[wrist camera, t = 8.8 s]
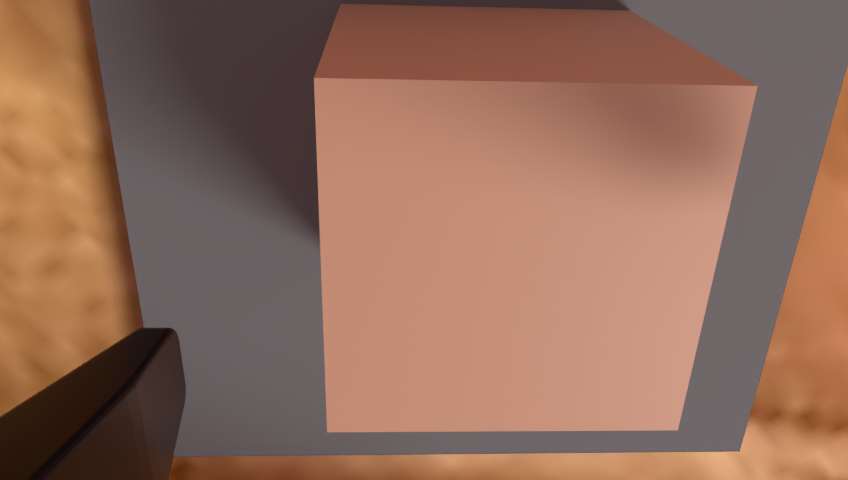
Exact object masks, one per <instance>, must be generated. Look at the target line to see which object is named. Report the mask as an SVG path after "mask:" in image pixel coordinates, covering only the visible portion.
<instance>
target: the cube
mask: <svg viewBox="0 0 848 480" xmlns="http://www.w3.org/2000/svg"><path fill="white" fill-rule="evenodd" d="M757 87H758V86H757V85H755V84H753V83H752V82H750V81H748V80H747V79H745V78H743V77H742V76H740V75H738V74H737V73H735V72H733V71H731V70H730V69H728V68H726V67H725V66H723V65H721V64H720V63H718V62H716V61H715V60H713V59H711V58H709V57H708V56H706V55H704V54H703V53H701V52H699V51H698V50H696V49H694V48H693V47H691V46H689V45H688V44H686V43H684V42H682V41H681V40H679V39H677V38H676V37H674V36H672V35H671V34H669V33H667V32H666V31H664V30H662V29H661V28H659V27H657V26H655V25H654V24H652V23H650V22H649V21H647V20H645V19H644V18H642V17H640V16H639V15H637V14H635V13H633V12H632V11H629V10H585V9H542V8H498V7H455V6H411V5H368V4H340V7H339V10H338V12H337V15H336V18H335V21H334V23H333V26H332V29H331V32H330V35H329V37H328V40H327V43H326V46H325V48H324V51H323V54H322V57H321V60H320V62H319V65H318V68H317V71H316V73H315V76H314V95H315V122H316V149H317V175H318V202H319V229H320V255H321V282H322V309H323V336H324V362H325V389H326V416H327V432H479V431H657V430H678V428H679V423H680V419H681V415H682V410H683V406H684V402H685V398H686V393H687V389H688V385H689V380H690V376H691V372H692V367H693V363H694V359H695V354H696V350H697V346H698V341H699V337H700V333H701V328H702V324H703V320H704V315H705V311H706V307H707V303H708V298H709V294H710V290H711V285H712V281H713V277H714V272H715V268H716V264H717V259H718V255H719V251H720V246H721V242H722V238H723V233H724V229H725V225H726V220H727V216H728V212H729V208H730V203H731V199H732V195H733V190H734V186H735V182H736V177H737V173H738V169H739V164H740V160H741V156H742V151H743V147H744V143H745V138H746V134H747V130H748V125H749V121H750V117H751V113H752V108H753V104H754V100H755V95H756V91H757Z"/></svg>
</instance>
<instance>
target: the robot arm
mask: <svg viewBox="0 0 848 480" xmlns="http://www.w3.org/2000/svg"><path fill="white" fill-rule="evenodd" d="M185 398H186V383H185V376H184V369H183V362H182V356H181V349H180V342H179V337H178V334H177V332H176V331H175V330H174V329H173V328H139V329H138V330H136V331H134V332H133V333H131V334H129V335H128V336H126V337H125V338H123V339H122V340H120V341H118V342H117V343H115V344H114V345H112V346H111V347H109V348H107V349H106V350H104V351H103V352H101V353H100V354H98V355H96V356H95V357H93V358H92V359H90V360H89V361H87V362H85V363H84V364H82V365H81V366H79V367H78V368H76V369H74V370H73V371H71V372H70V373H68V374H67V375H65V376H63V377H62V378H60V379H59V380H57V381H56V382H54V383H52V384H51V385H49V386H48V387H46V388H45V389H43V390H41V391H40V392H38V393H37V394H35V395H34V396H32V397H30V398H29V399H27V400H26V401H24V402H23V403H21V404H20V405H18V406H16V407H15V408H13V409H12V410H10V411H9V412H7V413H5V414H4V415H2V416H1V417H0V480H168V478H169V474H170V469H171V465H172V460H173V455H174V451H175V446H176V442H177V437H178V432H179V428H180V423H181V419H182V414H183V410H184V405H185Z"/></svg>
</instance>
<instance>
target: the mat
mask: <svg viewBox="0 0 848 480" xmlns="http://www.w3.org/2000/svg"><path fill="white" fill-rule="evenodd" d="M340 4H368V5H411V6H455V7H498V8H542V9H585V10H629V11H632V12H633V13H635V14H637V15H639V16H640V17H642V18H644V19H645V20H647V21H649V22H650V23H652V24H654V25H655V26H657V27H659V28H661V29H662V30H664V31H666V32H667V33H669V34H671V35H672V36H674V37H676V38H677V39H679V40H681V41H682V42H684V43H686V44H688V45H689V46H691V47H693V48H694V49H696V50H698V51H699V52H701V53H703V54H704V55H706V56H708V57H709V58H711V59H713V60H715V61H716V62H718V63H720V64H721V65H723V66H725V67H726V68H728V69H730V70H731V71H733V72H735V73H737V74H738V75H740V76H742V77H743V78H745V79H747V80H748V81H750V82H752V83H753V84H755V85H757V86H758V87H757V91H756V95H755V100H754V104H753V108H752V113H751V117H750V121H749V125H748V130H747V134H746V138H745V143H744V147H743V151H742V156H741V160H740V164H739V169H738V173H737V177H736V182H735V186H734V190H733V195H732V199H731V203H730V208H729V212H728V216H727V220H726V225H725V229H724V233H723V238H722V242H721V246H720V251H719V255H718V259H717V264H716V268H715V272H714V277H713V281H712V285H711V290H710V294H709V298H708V303H707V307H706V311H705V315H704V320H703V324H702V328H701V333H700V337H699V341H698V346H697V350H696V354H695V359H694V363H693V367H692V372H691V376H690V380H689V385H688V389H687V393H686V398H685V402H684V406H683V410H682V415H681V419H680V423H679V428H678V430H657V431H479V432H327V416H326V389H325V362H324V336H323V309H322V282H321V255H320V229H319V202H318V175H317V149H316V122H315V95H314V76H315V73H316V71H317V68H318V65H319V62H320V60H321V57H322V54H323V51H324V48H325V46H326V43H327V40H328V37H329V35H330V32H331V29H332V26H333V23H334V21H335V18H336V15H337V12H338V10H339V7H340ZM89 6H90V12H91V18H92V24H93V30H94V36H95V41H96V47H97V53H98V59H99V65H100V71H101V77H102V83H103V89H104V95H105V101H106V107H107V113H108V119H109V124H110V130H111V136H112V142H113V148H114V154H115V160H116V166H117V172H118V178H119V184H120V190H121V196H122V201H123V207H124V213H125V219H126V225H127V231H128V237H129V243H130V249H131V255H132V261H133V267H134V273H135V278H136V284H137V290H138V296H139V302H140V308H141V314H142V320H143V326H144V328H173V329H174V330H175V331H176V332H177V334H178V337H179V342H180V349H181V356H182V362H183V369H184V376H185V383H186V398H185V405H184V410H183V414H182V419H181V423H180V428H179V432H178V437H177V442H176V446H175V451H174V455H173V457H203V456H307V455H412V454H516V453H621V452H725V451H740V448H741V444H742V441H743V437H744V434H745V430H746V426H747V423H748V419H749V416H750V412H751V409H752V405H753V401H754V398H755V394H756V391H757V387H758V383H759V380H760V376H761V373H762V369H763V366H764V362H765V358H766V355H767V351H768V348H769V344H770V341H771V337H772V333H773V330H774V326H775V323H776V319H777V315H778V312H779V308H780V305H781V301H782V298H783V294H784V290H785V287H786V283H787V280H788V276H789V273H790V269H791V265H792V262H793V258H794V255H795V251H796V247H797V244H798V240H799V237H800V233H801V230H802V226H803V222H804V219H805V215H806V212H807V208H808V205H809V201H810V197H811V194H812V190H813V187H814V183H815V179H816V176H817V172H818V169H819V165H820V162H821V158H822V154H823V151H824V147H825V144H826V140H827V136H828V133H829V129H830V126H831V122H832V119H833V115H834V111H835V108H836V104H837V101H838V97H839V94H840V90H841V86H842V83H843V79H844V76H845V72H846V68H847V65H848V0H89Z"/></svg>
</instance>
